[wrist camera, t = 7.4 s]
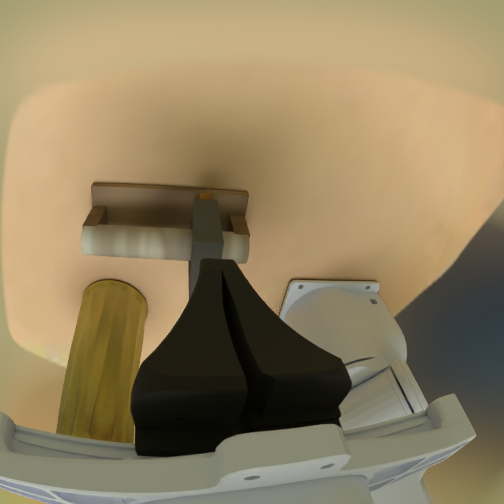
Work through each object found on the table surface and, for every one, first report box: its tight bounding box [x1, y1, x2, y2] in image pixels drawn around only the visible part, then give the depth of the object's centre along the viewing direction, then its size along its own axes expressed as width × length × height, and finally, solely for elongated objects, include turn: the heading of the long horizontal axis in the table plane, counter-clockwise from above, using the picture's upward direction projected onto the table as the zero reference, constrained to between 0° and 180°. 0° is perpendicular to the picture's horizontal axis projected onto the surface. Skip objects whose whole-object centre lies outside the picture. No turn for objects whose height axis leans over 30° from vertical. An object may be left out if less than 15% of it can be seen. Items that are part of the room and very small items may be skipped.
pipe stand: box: [81, 183, 250, 263], centre depth 21 cm, size 11×5×4 cm, turn 80°
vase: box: [56, 280, 148, 444], centre depth 21 cm, size 6×6×14 cm
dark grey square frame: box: [189, 199, 224, 299], centre depth 20 cm, size 2×4×5 cm, turn 170°
